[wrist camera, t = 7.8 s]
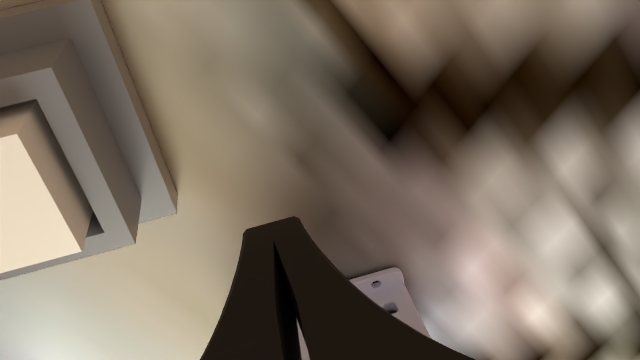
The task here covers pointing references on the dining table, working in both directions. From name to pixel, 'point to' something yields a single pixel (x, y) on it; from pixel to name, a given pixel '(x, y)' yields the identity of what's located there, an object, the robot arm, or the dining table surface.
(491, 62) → the dining table surface
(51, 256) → the cream key
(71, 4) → the key panel
